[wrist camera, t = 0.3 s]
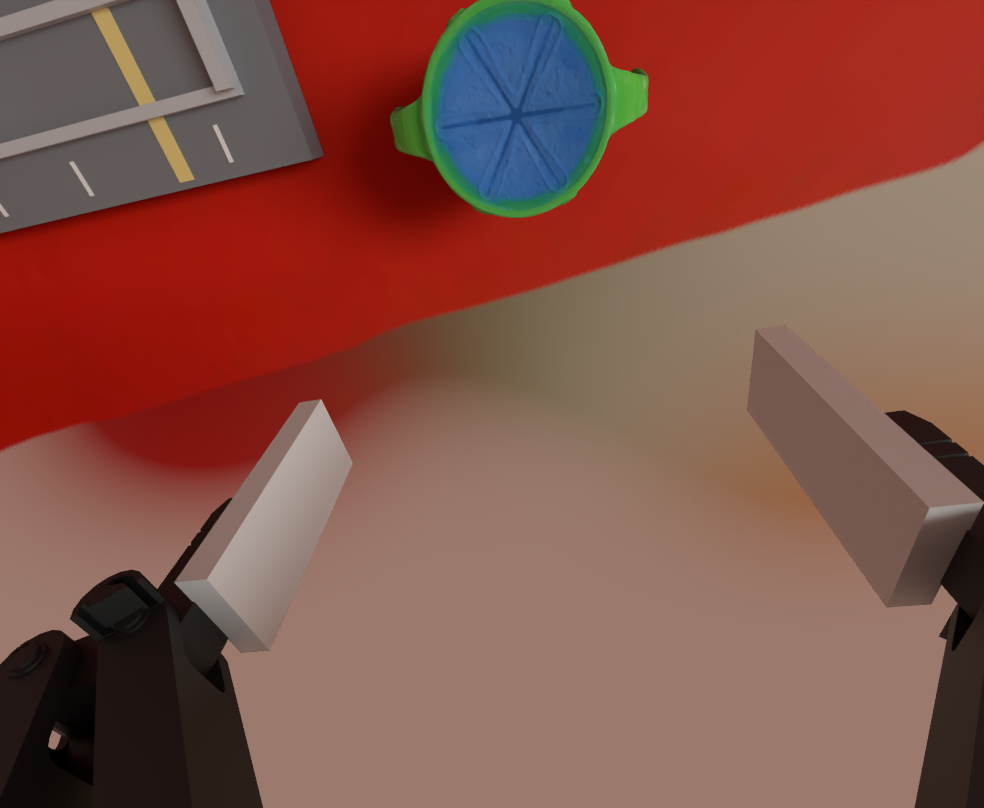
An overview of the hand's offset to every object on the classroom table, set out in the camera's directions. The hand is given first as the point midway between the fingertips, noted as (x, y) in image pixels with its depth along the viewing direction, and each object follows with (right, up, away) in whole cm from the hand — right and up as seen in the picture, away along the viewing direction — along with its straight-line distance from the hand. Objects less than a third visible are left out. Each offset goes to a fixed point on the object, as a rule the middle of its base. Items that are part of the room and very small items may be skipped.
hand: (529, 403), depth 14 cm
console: (-31, +23, +19) cm, 44 cm away
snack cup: (+1, +21, +19) cm, 29 cm away
